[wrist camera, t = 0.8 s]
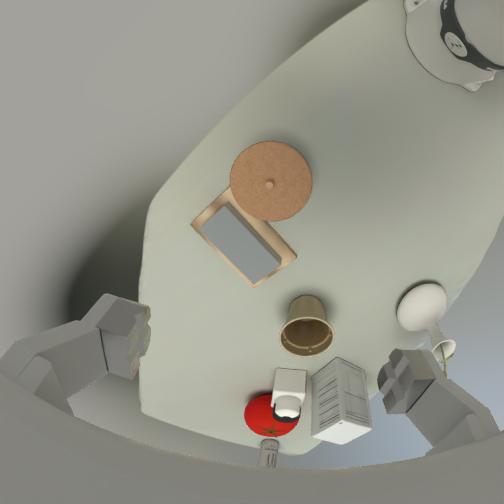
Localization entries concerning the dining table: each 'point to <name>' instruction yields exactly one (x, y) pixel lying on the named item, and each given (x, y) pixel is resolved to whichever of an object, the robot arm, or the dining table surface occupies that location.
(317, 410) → the supplement box
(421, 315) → the flower in vase
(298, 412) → the medicine bottle
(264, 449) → the energy drink can
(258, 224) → the wooden board
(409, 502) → the robot arm
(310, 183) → the lidded jar
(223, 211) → the slate tile
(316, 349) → the flower pot
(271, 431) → the tomato
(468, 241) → the dining table surface
